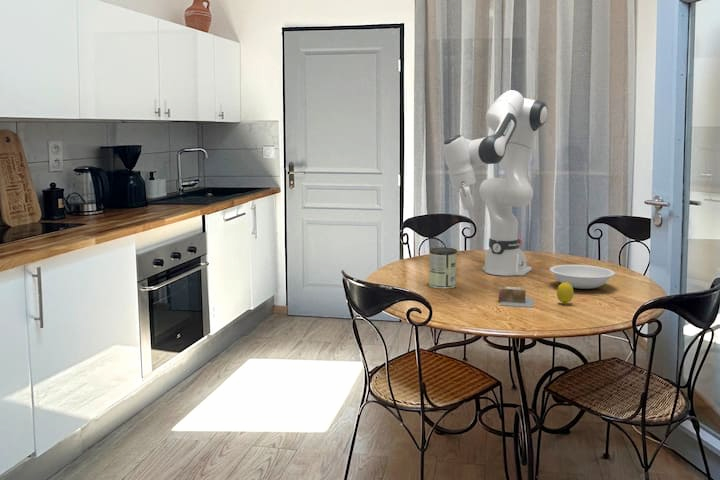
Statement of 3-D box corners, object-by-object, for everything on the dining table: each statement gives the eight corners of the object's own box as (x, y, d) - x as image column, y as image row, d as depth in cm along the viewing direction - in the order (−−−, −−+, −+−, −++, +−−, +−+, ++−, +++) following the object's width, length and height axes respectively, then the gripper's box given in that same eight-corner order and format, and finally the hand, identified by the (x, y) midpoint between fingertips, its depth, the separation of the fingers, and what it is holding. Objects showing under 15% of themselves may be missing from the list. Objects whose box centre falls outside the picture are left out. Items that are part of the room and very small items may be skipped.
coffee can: (432, 282, 295) (433, 246, 293) (458, 284, 292) (459, 248, 289) (425, 287, 285) (426, 250, 283) (452, 289, 282) (453, 252, 280)
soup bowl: (613, 297, 272) (614, 279, 271) (545, 291, 280) (546, 274, 279) (615, 283, 294) (616, 267, 293) (552, 278, 303) (553, 262, 301)
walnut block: (499, 288, 263) (525, 290, 261) (499, 286, 267) (525, 287, 265) (498, 301, 264) (525, 303, 262) (499, 298, 268) (525, 300, 266)
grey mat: (500, 305, 259) (500, 304, 259) (501, 296, 272) (501, 295, 272) (533, 307, 257) (533, 306, 256) (533, 297, 270) (533, 297, 270)
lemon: (554, 302, 264) (555, 280, 262) (569, 302, 264) (570, 279, 263) (559, 306, 258) (560, 283, 257) (575, 306, 259) (576, 283, 257)
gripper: (471, 181, 261) (481, 219, 263) (472, 175, 281) (481, 211, 282) (453, 186, 262) (463, 224, 264) (456, 179, 282) (465, 215, 284)
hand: (472, 217), depth 273 cm, fingers closed
